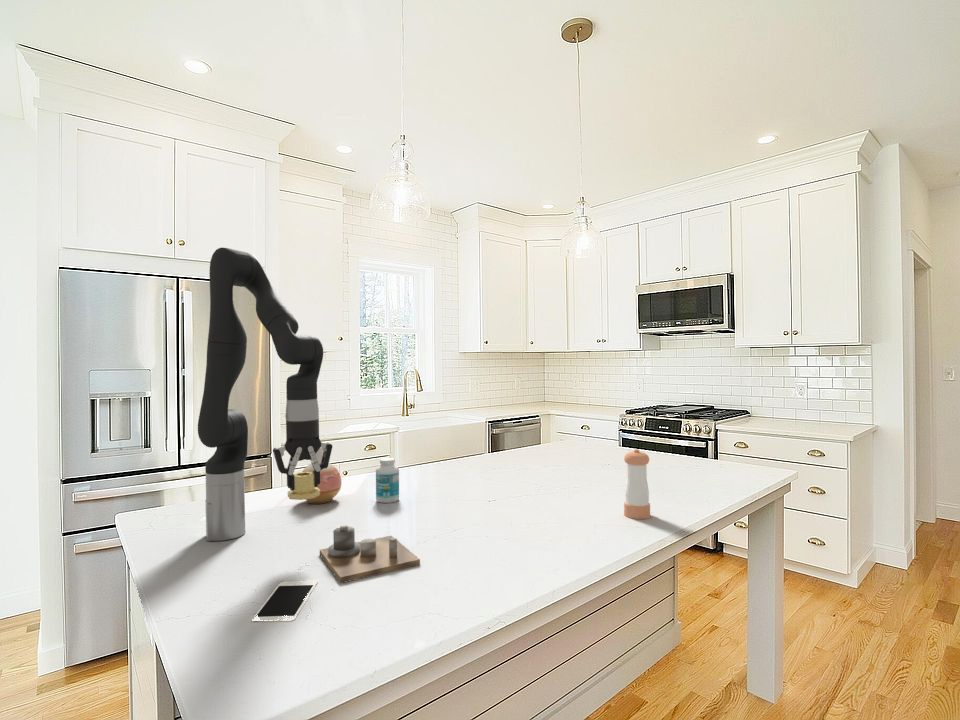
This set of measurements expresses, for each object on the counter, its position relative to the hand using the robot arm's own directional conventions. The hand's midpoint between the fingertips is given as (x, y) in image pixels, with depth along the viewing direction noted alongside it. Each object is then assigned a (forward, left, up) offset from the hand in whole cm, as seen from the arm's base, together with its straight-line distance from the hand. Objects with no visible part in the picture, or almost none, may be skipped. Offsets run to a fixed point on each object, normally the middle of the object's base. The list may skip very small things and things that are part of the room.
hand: (304, 487), depth 126 cm
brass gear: (0, 0, -2) cm, 2 cm away
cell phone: (-8, -24, -16) cm, 30 cm away
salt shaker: (+89, -23, -16) cm, 93 cm away
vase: (+14, +42, -16) cm, 47 cm away
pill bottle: (+33, +31, -16) cm, 48 cm away
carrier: (+12, -13, -16) cm, 23 cm away
